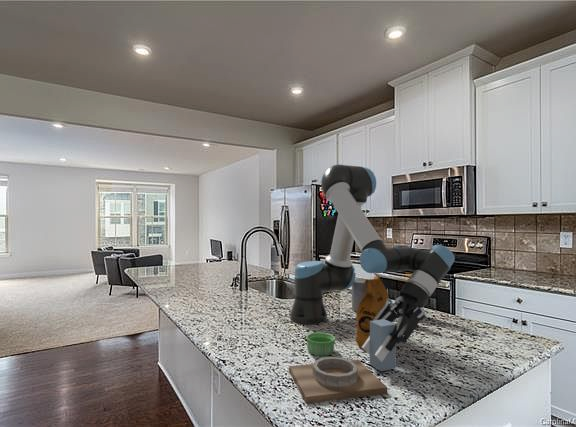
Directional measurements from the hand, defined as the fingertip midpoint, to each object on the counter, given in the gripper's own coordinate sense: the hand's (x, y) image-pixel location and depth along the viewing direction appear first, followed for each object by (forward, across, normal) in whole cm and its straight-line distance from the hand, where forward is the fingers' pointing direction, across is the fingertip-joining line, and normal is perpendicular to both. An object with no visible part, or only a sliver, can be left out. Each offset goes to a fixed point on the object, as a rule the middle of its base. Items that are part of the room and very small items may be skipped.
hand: (371, 354), depth 91 cm
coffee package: (-6, +16, -12) cm, 21 cm away
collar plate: (+12, -2, +6) cm, 14 cm away
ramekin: (+8, +17, +1) cm, 19 cm away
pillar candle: (-21, +52, -28) cm, 62 cm away
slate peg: (0, 0, -5) cm, 5 cm away
